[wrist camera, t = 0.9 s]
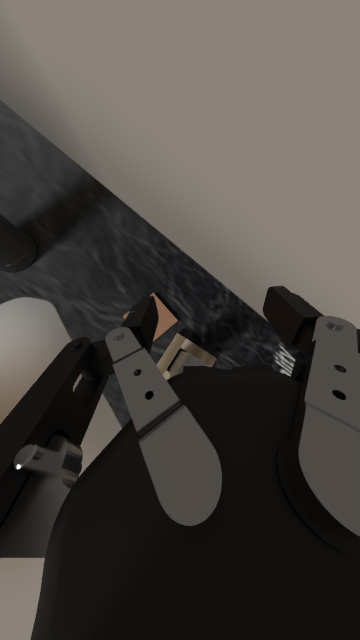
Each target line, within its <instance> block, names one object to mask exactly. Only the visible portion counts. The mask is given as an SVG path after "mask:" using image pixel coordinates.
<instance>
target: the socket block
mask: <svg viewBox="0 0 360 640" xmlns="http://www.w3.org/2000/svg"><path fill="white" fill-rule="evenodd" d="M180 348H182V349H183V350H185V351H186V352H188V353H190V354H192V355H193V356H195V357H196V358H198V359H200V360H201V361H203V362H204V363H206V364H207V365H209V366H210V367H212V366H213V364H214V362H215V361H216V359H217V358H215V357H214V356H212V355H211V354H209V353H208V352H206V351H205V350H203V349H202V348H200V347H199V346H197V345H195V344H194V343H192V342H191V341H189V340H188V339H186V338H185V337H183V336H182V335H180V334H179V333H177V334H176V336H175V337H174V339H173V341H172V342H171V344H170V345H169V347H168V348H167V350H166V351H165V353H164V354H163V356H162V357H161V359H160V361H159V362H158V364H157V365H156V366H157V367H158V369H159V370H160V372H161V373H162V375H163V376H164V378H165V379H166V380H168V379H169V378H170V371H169V370H168V369H167V368H168V366H169V365H170V363H171V362H172V360H173V359H174V357H175V355H176V354H177V352H178V351H179V349H180Z"/></svg>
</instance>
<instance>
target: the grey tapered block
mask: <svg viewBox="0 0 360 640" xmlns="http://www.w3.org/2000/svg"><path fill="white" fill-rule="evenodd" d="M183 366H208V367H210V366H209V365H207V364H206V363H204V362H203V361H201V360H200V359H198V358H196V357H195V356H193V355H192V354H190V353H188V352H184V351H180V352H179V354H178V355H177V357H176V359H175V360H174V362H173V363H172V365H171V367H170V378H171V377H173V376H174V375H177V374H179V373H183Z"/></svg>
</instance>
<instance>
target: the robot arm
mask: <svg viewBox="0 0 360 640" xmlns="http://www.w3.org/2000/svg"><path fill="white" fill-rule="evenodd" d="M36 254H37V246H36V244H35V242H34V241H33V240H32V239H31V238H30V237H29V236H27V235H26V234H25V233H24V232H22V231H21V230H20V229H19V228H17V227H16V226H15V225H14V224H12V223H11V222H10V221H9V220H7V219H6V218H5V217H4V216H2V215H1V214H0V270H2V271H5V272H17V271H20V270H23V269H25V268H26V267H28V266H29V265H30V264H31V263H32V262H33V261H34V259H35V257H36ZM263 313H264V316H265V317H266V319H267V320H268V321H269V323H270V324H271V326H272V327H273V329H274V330H275V332H276V333H277V334H278V336H279V337H280V339H281V340H282V342H283V343H284V345H285V346H286V347H287V349H288V350H296V349H298V350H299V353H298V354H297V357H296V360H295V364H294V367H293V371H292V374H291V377H290V376H288V375H285V374H282V373H279V372H275V371H274V370H273V368H272V366H271V364H254V365H245V366H241V367H237V368H233V369H229V370H223V369H218V368H213V367H208V366H183V373H179V374H177V375H174V376H173V377H171V378H169V379H168V380H166V379H165V378H164V376H163V375H162V373H161V372H160V370H159V369H158V367H157V366H156V364H155V363H154V361H153V360H152V358H151V357H150V355H149V354H150V350H151V347H152V343H153V339H154V336H155V332H156V328H157V325H158V321H159V314H158V310H157V306H156V302H155V298H154V296H143V297H142V299H141V301H140V303H137V304H136V305H134V306H133V307H132V308H131V310H130V313H129V314H128V315H127V317H126V319H125V320H124V322H123V324H122V326H121V327H120V328H117V329H114V330H112V331H111V332H110V333H109V334H108V335H107V336H106V338H105V340H101V341H97V342H94V343H92V342H91V340H90V339H89V338H87V337H81V338H77V339H75V340H73V341H71V342H70V343H68V344H67V345H66V346H65V347H64V348H63V349H62V351H61V352H60V353H59V354H58V355H57V357H56V358H55V359H54V360H53V361H52V363H51V364H50V365H49V366H48V367H47V369H46V370H45V371H44V372H43V373H42V375H41V376H40V377H39V378H38V380H37V381H36V382H35V383H34V384H33V386H32V387H31V388H30V389H29V390H28V392H27V393H26V394H25V395H24V396H23V398H22V399H21V400H20V401H19V403H18V404H17V405H16V406H15V407H14V409H13V410H12V411H11V412H10V413H9V415H8V416H7V417H6V418H5V419H4V421H3V422H2V423H1V424H0V558H45V562H44V569H43V576H42V584H41V591H40V597H39V602H38V608H37V613H36V618H35V622H34V627H33V631H32V636H31V640H360V329H356V328H355V326H354V325H353V324H352V323H350V322H348V321H346V320H343V319H341V318H337V317H333V316H324V315H322V314H321V313H320V312H319V311H317V310H316V309H315V308H314V307H312V306H311V305H309V303H308V302H306V301H305V300H304V299H303V298H301V297H300V296H298V295H296V294H294V293H291V292H290V291H289V290H288V289H286V288H285V287H284V286H275V287H269V289H268V291H267V295H266V298H265V302H264V306H263ZM115 373H116V376H117V379H118V381H119V384H120V387H121V390H122V392H123V395H124V398H125V401H126V403H127V406H128V409H129V412H130V415H131V417H132V418H131V419H130V420H129V421H128V423H127V424H126V425H125V426H124V427H123V428H122V429H121V431H120V432H119V433H118V434H117V435H116V436H115V437H114V438H113V439H112V440H111V442H110V443H109V444H108V445H107V446H106V447H105V448H104V449H103V450H102V452H101V453H100V454H99V455H98V456H97V457H96V458H95V459H94V461H93V462H92V463H91V464H90V465H89V466H88V467H87V468H86V470H85V471H84V472H83V473H82V474H81V475H80V477H79V474H80V472H81V469H82V464H81V462H82V456H83V454H82V449H81V447H80V445H81V443H82V440H83V438H84V435H85V433H86V430H87V428H88V426H89V423H90V421H91V419H92V416H93V414H94V411H95V409H96V406H97V404H98V401H99V399H100V397H101V394H102V392H103V390H104V387H105V385H106V382H107V380H108V378H109V375H112V374H115ZM80 374H81V375H82V378H81V380H80V381H79V383H78V385H77V387H76V388H75V390H74V392H73V385H74V383H75V382H76V380H77V378H78V376H79V375H80Z"/></svg>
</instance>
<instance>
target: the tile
mask: <svg viewBox="0 0 360 640" xmlns="http://www.w3.org/2000/svg"><path fill="white" fill-rule="evenodd" d="M150 296H154V298H155V302H156V306H157V310H158V314H159V321H158V325H157V328H156V332H155V336H154V339H153V342H154V341H155V340H156V339H158V338H159V337H160V336H161V335H162V334H163V333H165V332H166V331H167V330H168V329H169V328H170V327H172V326H173V325H174V324H175V323H176V322H178V320H177V319H176V318H175V317H174V316H173V315H172V313H171V312H170V311H169V310H168V309H167V308H166V307H165V305H164V304H163V303H162V302H161V301H160V300H159V299H158V298H157V296H156V295H155V294H154V293H153V294H151V295H150ZM129 313H130V311H129V312H128V313H127V314H126V315H124V316H123V317H124V318H125V319H126V317H127V315H128V314H129Z"/></svg>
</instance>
